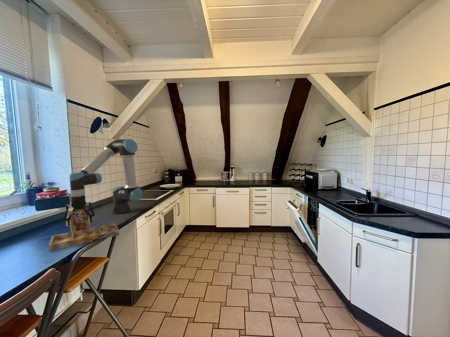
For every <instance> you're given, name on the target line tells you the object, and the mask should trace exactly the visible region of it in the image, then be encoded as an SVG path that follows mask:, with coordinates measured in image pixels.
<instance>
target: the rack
mask: <svg viewBox="0 0 450 337" xmlns="http://www.w3.org/2000/svg"><path fill="white" fill-rule="evenodd" d="M111 230H115V231H112V233H113V234H112V235H111V236H109V237H108V238H107V239H109V238H112V237H119V236H120V229H119V228H118V225H117V224H116V223H111V224H108V225H107V224H106V225H102V226H97V227H90V228H89V229H86V230H81V231H76V232H72V231H70V232H66V233H59V234H56V235H52V236H51V237H50V240H49V243H48V251H49V252H51V251H56V249H57V250H61V249H65V248H64V247H66V248H69V247H68V246H70V247H73V246H72V245H74V246H78V245H77V244H79V245H81V244H82V245H84V244H86V243H91V242H94V241H93V240H95V239H97V238H99V237H100V236H102V235H104V234H106V233H108V232H109V231H111ZM60 248H61V249H60Z"/></svg>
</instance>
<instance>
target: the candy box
mask: <svg viewBox="0 0 450 337" xmlns="http://www.w3.org/2000/svg"><path fill="white" fill-rule="evenodd" d="M85 208H86V210H87V211H89V210H88V208H87V207H85ZM70 213H71V216H72V217H71V224H72V231H71V232H76V231H81V230H86V229H90V227H89V220H88V217H89V216H88V214H87V213H86V212H85V211H84V210H83V209H79V210H75V211H70Z"/></svg>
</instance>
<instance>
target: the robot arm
mask: <svg viewBox="0 0 450 337" xmlns="http://www.w3.org/2000/svg"><path fill="white" fill-rule="evenodd" d="M137 150H138V144H137V142H136V141H135V140H134V139H132V138H120V139H119V138H118V139H115V140H112V141H111V142H109V143H108V144H107V145H105V146H104V148H103V150H102V151H101V152H100V153H98V155H96V156H95V157H94V158H93V159H92V160H91V161H90V162H89V163H87V164H86V165H85V166H84V167H83V168H82V169H80V170H79V171H77V172H76V171H74V172H70V173H69V185H70V186H69V187H70V196H71V197H70V200H71V202H70V204H66V205H65V210H66V212H65V213H64V217H63V221H64V222H66V221H67V222H68V226H67V227H70V228H69V230H70V232H72V224H71V220H70V219H71V217H72V216H71V214H70V216H69V217H68V218H67V214H68V210H69V209H70V208H73V210H72V211H75V210H78V209H83V210H84V211H85V212H86V213H87V214H88V220H89V228H91V223H92V222H93V219H92V218H93V217H95V216H96V215H95V212H94V209H93V206H92V201H89V202H87V201H86V188H85V186H90V185H98V184H100V183H102V182H103V178H102V177H103V176H102V175H101V173H98V172H97V171H98V170H99V169H100V168H101V167H102V166H103V165H104V164H105V163H107V161H108V160H109V159H111V158H112V157H114V156H115V155H117V154H119V156H120V157H121V158H122V166H123V174H124V183H125V184H124V185H121V186H116V187H115V186H114V187H113V189H112V198H113V199H112V201H113V205H112V209H111V214H112V215H122V214H126V213H129V212H131V205H130V203H129V202H132V203H133V202H135V203H137V202H139V201H140V200H141V198H142V196H143V191H142V189H141V188H139V185H138V184H137V177H136V167H135V158H134V157H135V155H136V152H137ZM95 172H97V173H95ZM86 205H87V206H88V207H89V210H90V211H89V210H88V211H87V210H86V208H87V207H85V206H86Z"/></svg>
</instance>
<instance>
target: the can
mask: <svg viewBox="0 0 450 337" xmlns="http://www.w3.org/2000/svg"><path fill="white" fill-rule="evenodd" d="M72 210H73V207H70V208H69V210H68V214H67V218H68V217H69V216H70V214H71V213H70V211H72ZM78 210H79V209H78ZM64 211H65V212H66V209H65V210H64ZM70 220H71V219H70ZM65 225H66V227H69V226H68V222H67V221H65Z"/></svg>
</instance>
